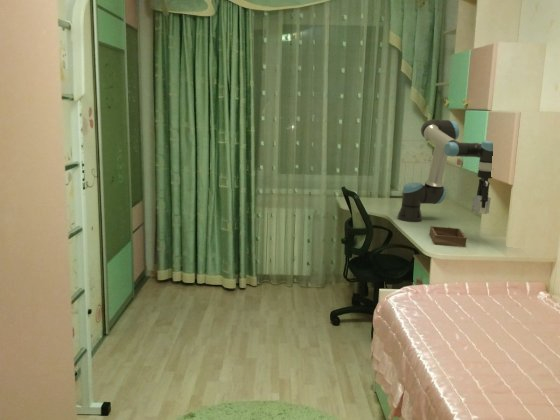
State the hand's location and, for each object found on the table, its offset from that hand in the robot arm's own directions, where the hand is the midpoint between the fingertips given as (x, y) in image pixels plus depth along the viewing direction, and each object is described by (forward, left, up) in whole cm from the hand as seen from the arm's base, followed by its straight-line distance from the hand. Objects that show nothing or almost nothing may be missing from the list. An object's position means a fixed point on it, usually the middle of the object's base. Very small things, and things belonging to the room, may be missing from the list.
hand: (480, 211), depth 288 cm
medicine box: (0, 0, 0) cm, 0 cm away
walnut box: (+2, -16, -17) cm, 23 cm away
